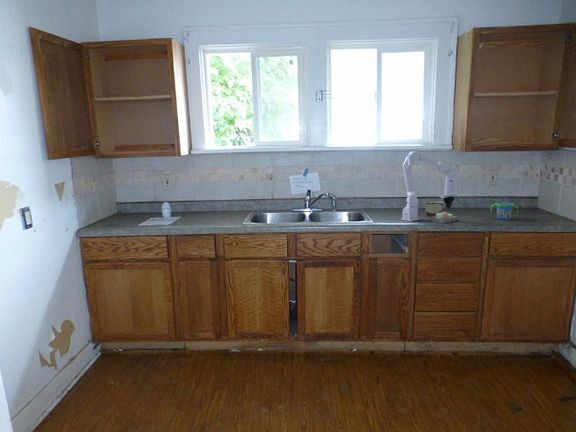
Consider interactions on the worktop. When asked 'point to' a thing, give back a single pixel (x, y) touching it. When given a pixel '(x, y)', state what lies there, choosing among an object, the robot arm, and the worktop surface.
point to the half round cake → (433, 208)
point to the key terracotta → (445, 214)
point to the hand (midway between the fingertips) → (448, 208)
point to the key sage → (439, 215)
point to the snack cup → (504, 210)
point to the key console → (444, 219)
